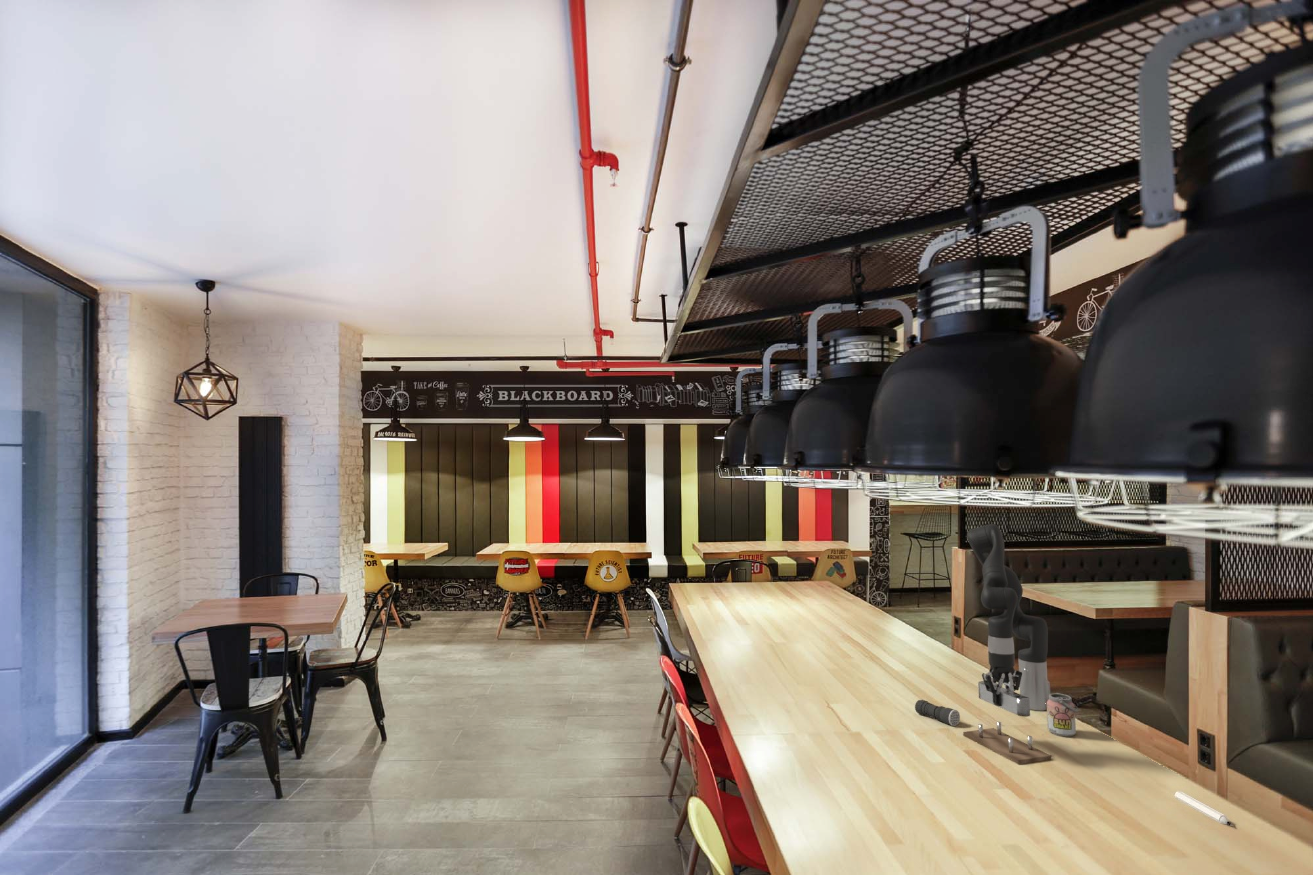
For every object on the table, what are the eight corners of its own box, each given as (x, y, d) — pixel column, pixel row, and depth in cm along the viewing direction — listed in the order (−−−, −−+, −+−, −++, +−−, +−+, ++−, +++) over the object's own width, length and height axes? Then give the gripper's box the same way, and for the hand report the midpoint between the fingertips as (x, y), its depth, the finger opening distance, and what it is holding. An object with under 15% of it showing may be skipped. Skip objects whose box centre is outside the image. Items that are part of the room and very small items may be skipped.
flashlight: (913, 714, 252) (913, 699, 252) (923, 712, 255) (923, 697, 255) (950, 727, 239) (949, 711, 239) (960, 724, 241) (959, 708, 242)
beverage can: (1078, 730, 234) (1076, 694, 234) (1081, 739, 226) (1079, 701, 227) (1046, 726, 238) (1045, 691, 238) (1049, 735, 230) (1047, 698, 231)
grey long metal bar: (986, 695, 232) (985, 680, 232) (1033, 715, 213) (1032, 699, 213) (976, 697, 231) (975, 681, 231) (1022, 717, 212) (1021, 700, 212)
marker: (1233, 833, 169) (1177, 801, 185) (1239, 828, 169) (1183, 797, 185) (1227, 823, 169) (1172, 793, 185) (1234, 818, 169) (1179, 788, 185)
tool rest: (993, 731, 234) (992, 715, 234) (1051, 759, 211) (1050, 741, 211) (963, 735, 231) (962, 719, 231) (1018, 764, 208) (1017, 746, 208)
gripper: (1010, 645, 228) (1013, 698, 227) (974, 649, 224) (976, 703, 223) (1028, 651, 221) (1030, 706, 220) (991, 654, 217) (993, 710, 216)
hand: (1003, 704), depth 222 cm, fingers closed on grey long metal bar, 4 cm apart
